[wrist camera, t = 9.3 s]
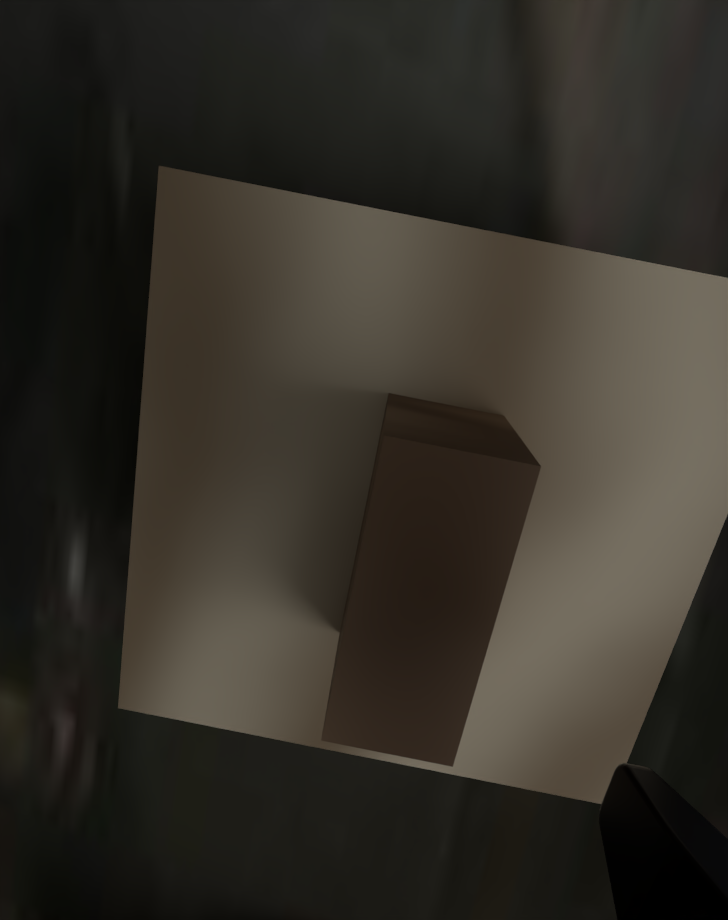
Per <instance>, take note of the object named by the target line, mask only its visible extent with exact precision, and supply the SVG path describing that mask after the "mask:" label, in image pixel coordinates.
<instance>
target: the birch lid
mask: <svg viewBox="0 0 728 920" xmlns="http://www.w3.org/2000/svg"><path fill="white" fill-rule="evenodd" d="M727 514H728V278H725V277H720V276H715V275H710V274H704V273H699V272H694V271H689V270H684V269H679V268H674V267H669V266H664V265H659V264H654V263H649V262H644V261H639V260H634V259H629V258H624V257H618V256H613V255H608V254H603V253H598V252H593V251H588V250H583V249H578V248H573V247H568V246H563V245H558V244H553V243H548V242H543V241H538V240H532V239H527V238H522V237H517V236H512V235H507V234H502V233H497V232H492V231H487V230H482V229H477V228H472V227H467V226H462V225H457V224H452V223H446V222H441V221H436V220H431V219H426V218H421V217H416V216H411V215H406V214H401V213H396V212H391V211H386V210H381V209H376V208H371V207H366V206H360V205H355V204H350V203H345V202H340V201H335V200H330V199H325V198H320V197H315V196H310V195H305V194H300V193H295V192H290V191H285V190H280V189H274V188H269V187H264V186H259V185H254V184H249V183H244V182H239V181H234V180H229V179H224V178H219V177H214V176H209V175H204V174H199V173H193V172H188V171H183V170H178V169H173V168H168V167H163V166H159V170H158V183H157V197H156V210H155V223H154V237H153V250H152V264H151V277H150V290H149V304H148V317H147V330H146V344H145V357H144V370H143V384H142V397H141V410H140V424H139V437H138V450H137V464H136V477H135V490H134V504H133V517H132V530H131V544H130V557H129V570H128V584H127V597H126V610H125V624H124V637H123V650H122V664H121V677H120V690H119V704H118V708H121V709H126V710H131V711H136V712H141V713H146V714H151V715H156V716H161V717H166V718H171V719H176V720H181V721H186V722H192V723H197V724H202V725H207V726H212V727H217V728H222V729H227V730H232V731H237V732H242V733H247V734H252V735H257V736H262V737H267V738H272V739H277V740H282V741H287V742H292V743H297V744H302V745H307V746H312V747H317V748H322V749H327V750H332V751H337V752H342V753H347V754H352V755H357V756H363V757H368V758H373V759H378V760H383V761H388V762H393V763H398V764H403V765H408V766H413V767H418V768H423V769H428V770H433V771H438V772H443V773H448V774H453V775H458V776H463V777H468V778H473V779H478V780H483V781H488V782H493V783H498V784H503V785H508V786H513V787H518V788H523V789H528V790H534V791H539V792H544V793H549V794H554V795H559V796H564V797H569V798H574V799H579V800H584V801H589V802H594V803H599V804H601V803H602V801H603V798H604V796H605V793H606V791H607V788H608V786H609V783H610V781H611V778H612V776H613V773H614V771H615V769H616V767H617V766H618V765H619V764H622V763H627V760H628V758H629V755H630V753H631V751H632V748H633V746H634V743H635V741H636V738H637V736H638V733H639V731H640V728H641V726H642V723H643V721H644V719H645V716H646V714H647V711H648V709H649V706H650V704H651V701H652V699H653V696H654V694H655V691H656V689H657V687H658V684H659V682H660V679H661V677H662V674H663V672H664V669H665V667H666V664H667V662H668V659H669V657H670V655H671V652H672V650H673V647H674V645H675V642H676V640H677V637H678V635H679V632H680V630H681V627H682V625H683V623H684V620H685V618H686V615H687V613H688V610H689V608H690V605H691V603H692V600H693V598H694V595H695V593H696V591H697V588H698V586H699V583H700V581H701V578H702V576H703V573H704V571H705V568H706V566H707V563H708V561H709V558H710V556H711V554H712V551H713V549H714V546H715V544H716V541H717V539H718V536H719V534H720V531H721V529H722V526H723V524H724V522H725V519H726V517H727Z"/></svg>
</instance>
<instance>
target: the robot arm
mask: <svg viewBox="0 0 728 920" xmlns="http://www.w3.org/2000/svg"><path fill="white" fill-rule="evenodd" d="M599 824H600V830H601V835H602V840H603V846H604V851H605V856H606V862H607V867H608V872H609V877H610V883H611V888H612V893H613V899H614V904H615V909H616V914H617V920H728V839H727V838H726V837H725V836H724V835H723V834H722V833H721V832H719V831H718V830H717V829H716V828H715V827H714V826H713V825H712V824H711V823H710V822H709V821H707V820H706V819H705V818H704V817H703V816H702V815H701V814H700V813H699V812H698V811H697V810H695V809H694V808H693V807H692V806H691V805H690V804H689V803H688V802H687V801H686V800H685V799H683V798H682V797H681V796H680V795H679V794H678V793H677V792H676V791H675V790H674V789H673V788H671V787H670V786H669V785H668V784H667V783H666V782H665V781H664V780H663V779H662V778H661V777H659V776H658V775H657V774H656V773H655V772H654V771H653V770H651V769H649V768H647V767H643V766H638V765H633V764H627V763H622V764H619V765H618V766H617V767H616V769H615V771H614V773H613V776H612V778H611V781H610V783H609V786H608V788H607V791H606V793H605V796H604V798H603V801H602V803H601V807H600V812H599Z"/></svg>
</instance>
